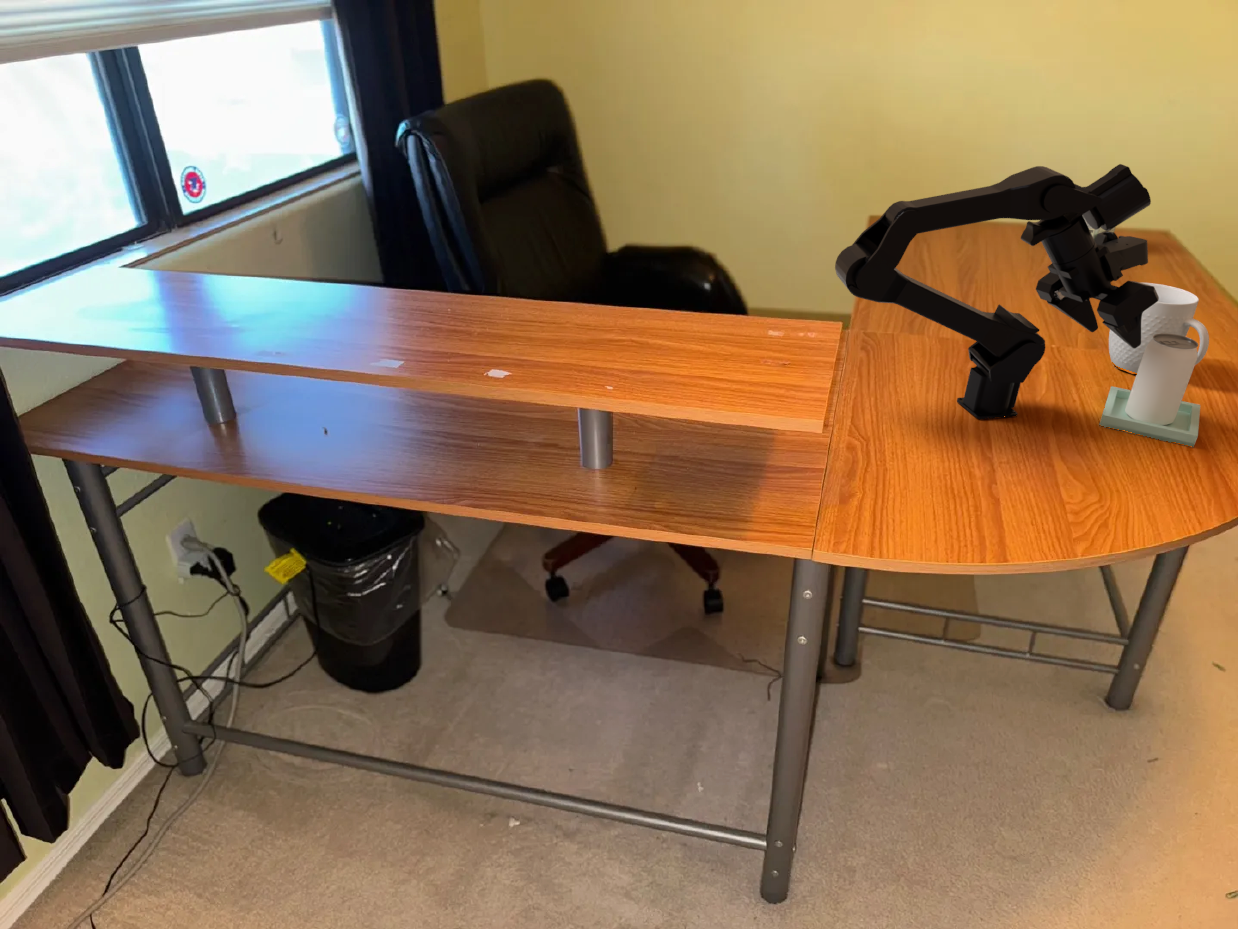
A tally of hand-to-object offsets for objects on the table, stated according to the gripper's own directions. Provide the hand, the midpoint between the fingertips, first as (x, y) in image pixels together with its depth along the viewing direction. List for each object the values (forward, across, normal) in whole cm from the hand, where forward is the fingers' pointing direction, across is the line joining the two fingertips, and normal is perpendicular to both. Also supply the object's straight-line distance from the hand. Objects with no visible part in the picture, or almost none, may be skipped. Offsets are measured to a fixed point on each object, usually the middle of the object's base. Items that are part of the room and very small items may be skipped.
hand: (1115, 338), depth 126 cm
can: (+13, -2, +2) cm, 13 cm away
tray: (+14, -2, +2) cm, 14 cm away
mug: (+19, +15, -8) cm, 25 cm away
